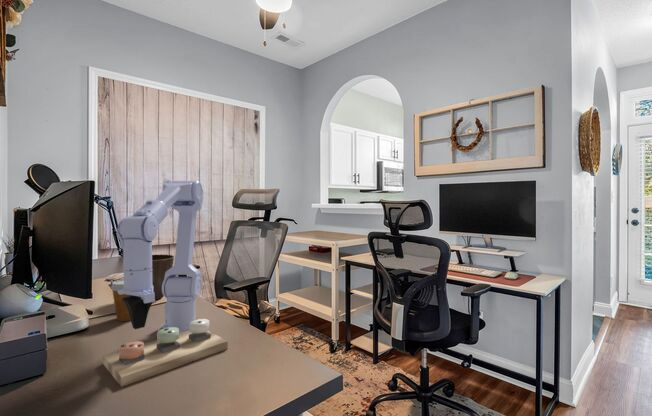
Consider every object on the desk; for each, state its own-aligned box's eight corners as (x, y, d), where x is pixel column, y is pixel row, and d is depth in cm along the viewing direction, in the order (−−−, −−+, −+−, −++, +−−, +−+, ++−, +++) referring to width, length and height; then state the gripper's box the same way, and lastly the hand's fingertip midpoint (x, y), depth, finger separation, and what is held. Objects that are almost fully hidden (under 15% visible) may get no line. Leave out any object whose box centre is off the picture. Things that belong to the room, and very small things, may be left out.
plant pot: (168, 290, 140) (168, 253, 140) (179, 298, 129) (178, 257, 129) (128, 297, 131) (127, 256, 131) (135, 306, 119) (135, 262, 119)
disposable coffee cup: (138, 311, 114) (137, 276, 114) (150, 317, 108) (149, 280, 108) (106, 318, 107) (106, 281, 107) (117, 325, 101) (117, 286, 101)
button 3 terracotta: (116, 354, 75) (116, 345, 75) (139, 347, 78) (139, 338, 78) (123, 361, 71) (123, 351, 71) (147, 354, 75) (147, 344, 75)
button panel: (102, 364, 77) (102, 351, 77) (201, 333, 94) (201, 323, 94) (121, 387, 67) (121, 372, 67) (227, 348, 85) (227, 337, 85)
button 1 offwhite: (186, 329, 86) (186, 321, 86) (204, 324, 90) (204, 317, 90) (195, 334, 83) (195, 326, 83) (212, 329, 87) (212, 321, 87)
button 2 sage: (154, 339, 81) (154, 330, 81) (174, 333, 84) (174, 325, 84) (161, 344, 77) (161, 335, 77) (182, 338, 81) (182, 330, 81)
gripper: (109, 266, 78) (109, 324, 78) (128, 276, 68) (129, 342, 68) (141, 262, 83) (142, 316, 83) (164, 271, 73) (165, 332, 73)
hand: (138, 327), depth 76 cm, fingers closed
